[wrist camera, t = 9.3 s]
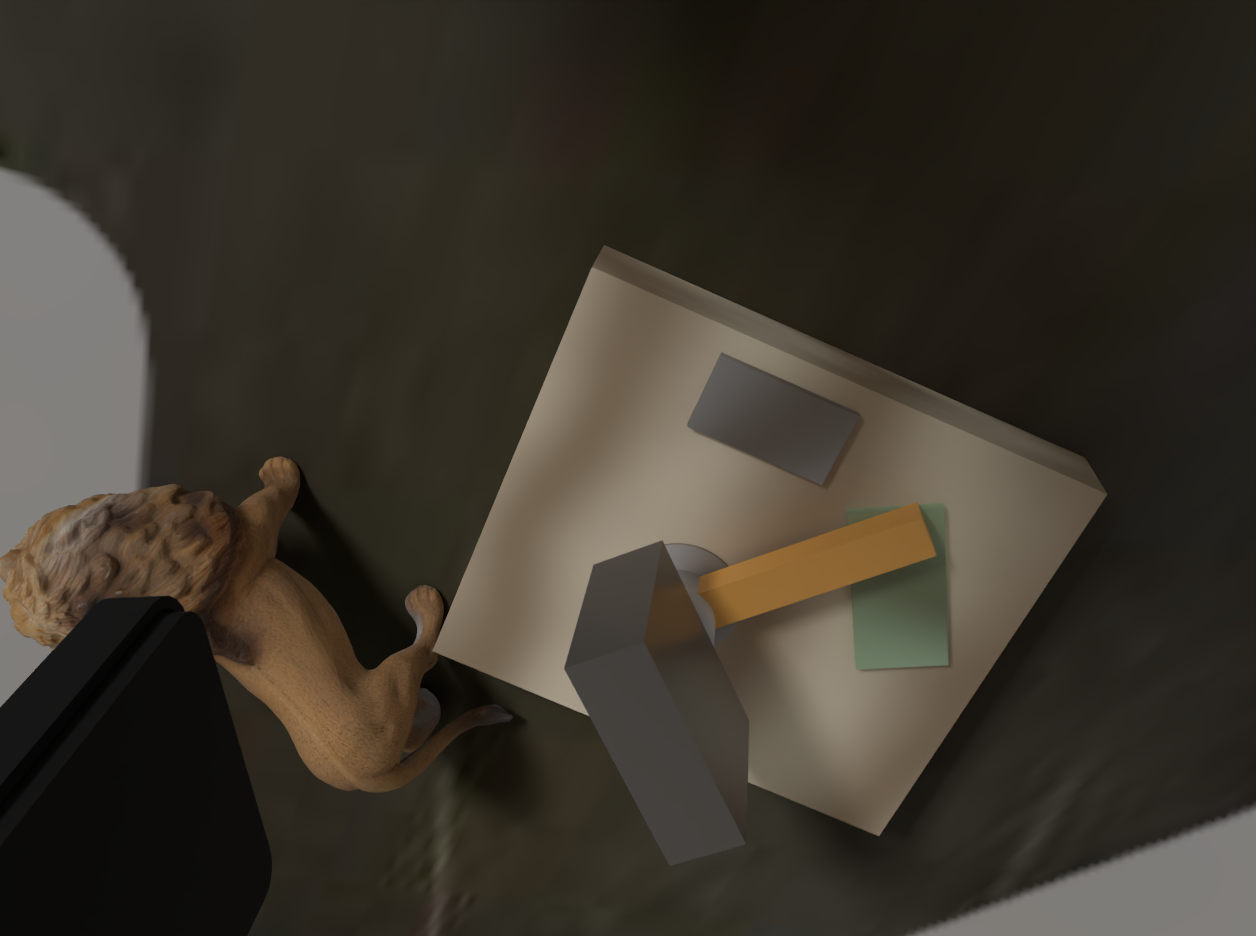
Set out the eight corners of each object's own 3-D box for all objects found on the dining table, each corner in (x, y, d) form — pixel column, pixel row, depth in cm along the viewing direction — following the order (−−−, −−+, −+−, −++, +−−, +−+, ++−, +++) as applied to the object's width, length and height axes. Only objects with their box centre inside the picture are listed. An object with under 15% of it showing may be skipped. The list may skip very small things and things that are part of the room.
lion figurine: (106, 492, 38) (-74, 640, 30) (188, 373, 36) (19, 498, 28) (471, 753, 41) (396, 955, 33) (566, 655, 39) (511, 845, 31)
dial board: (452, 609, 39) (430, 656, 36) (604, 245, 33) (590, 269, 31) (872, 785, 40) (879, 842, 37) (1085, 457, 34) (1110, 498, 32)
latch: (684, 697, 36) (665, 866, 29) (600, 529, 34) (560, 669, 27) (960, 610, 34) (1006, 772, 27) (887, 425, 32) (917, 550, 25)
